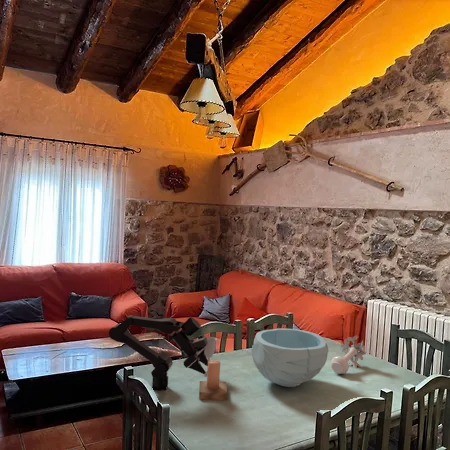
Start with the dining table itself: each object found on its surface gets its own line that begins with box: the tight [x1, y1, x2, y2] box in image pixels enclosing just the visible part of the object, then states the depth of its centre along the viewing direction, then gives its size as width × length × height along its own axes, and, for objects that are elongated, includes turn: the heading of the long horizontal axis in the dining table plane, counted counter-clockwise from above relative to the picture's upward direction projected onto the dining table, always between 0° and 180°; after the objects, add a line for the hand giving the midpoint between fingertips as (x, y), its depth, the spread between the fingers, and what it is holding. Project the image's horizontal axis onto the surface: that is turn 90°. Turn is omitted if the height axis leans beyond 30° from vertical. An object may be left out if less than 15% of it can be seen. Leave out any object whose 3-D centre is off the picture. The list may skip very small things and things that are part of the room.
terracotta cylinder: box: [206, 359, 221, 389], centre depth 191 cm, size 6×6×11 cm
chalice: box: [202, 336, 218, 378], centre depth 212 cm, size 7×7×18 cm
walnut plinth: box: [198, 380, 228, 401], centre depth 191 cm, size 12×12×3 cm
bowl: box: [251, 327, 329, 388], centre depth 206 cm, size 35×35×22 cm
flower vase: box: [330, 334, 367, 375], centre depth 229 cm, size 13×18×25 cm
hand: (207, 369), depth 191 cm, fingers open, 9 cm apart
